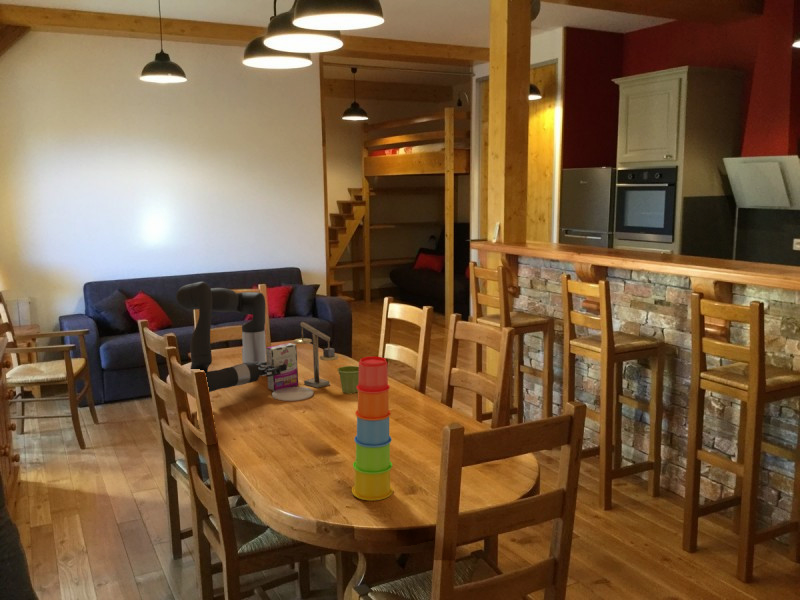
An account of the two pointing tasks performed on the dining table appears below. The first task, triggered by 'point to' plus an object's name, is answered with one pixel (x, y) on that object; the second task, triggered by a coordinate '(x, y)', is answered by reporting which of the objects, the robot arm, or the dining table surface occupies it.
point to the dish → (292, 393)
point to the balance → (327, 355)
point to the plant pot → (349, 378)
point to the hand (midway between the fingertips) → (279, 365)
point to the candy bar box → (280, 357)
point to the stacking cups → (372, 432)
